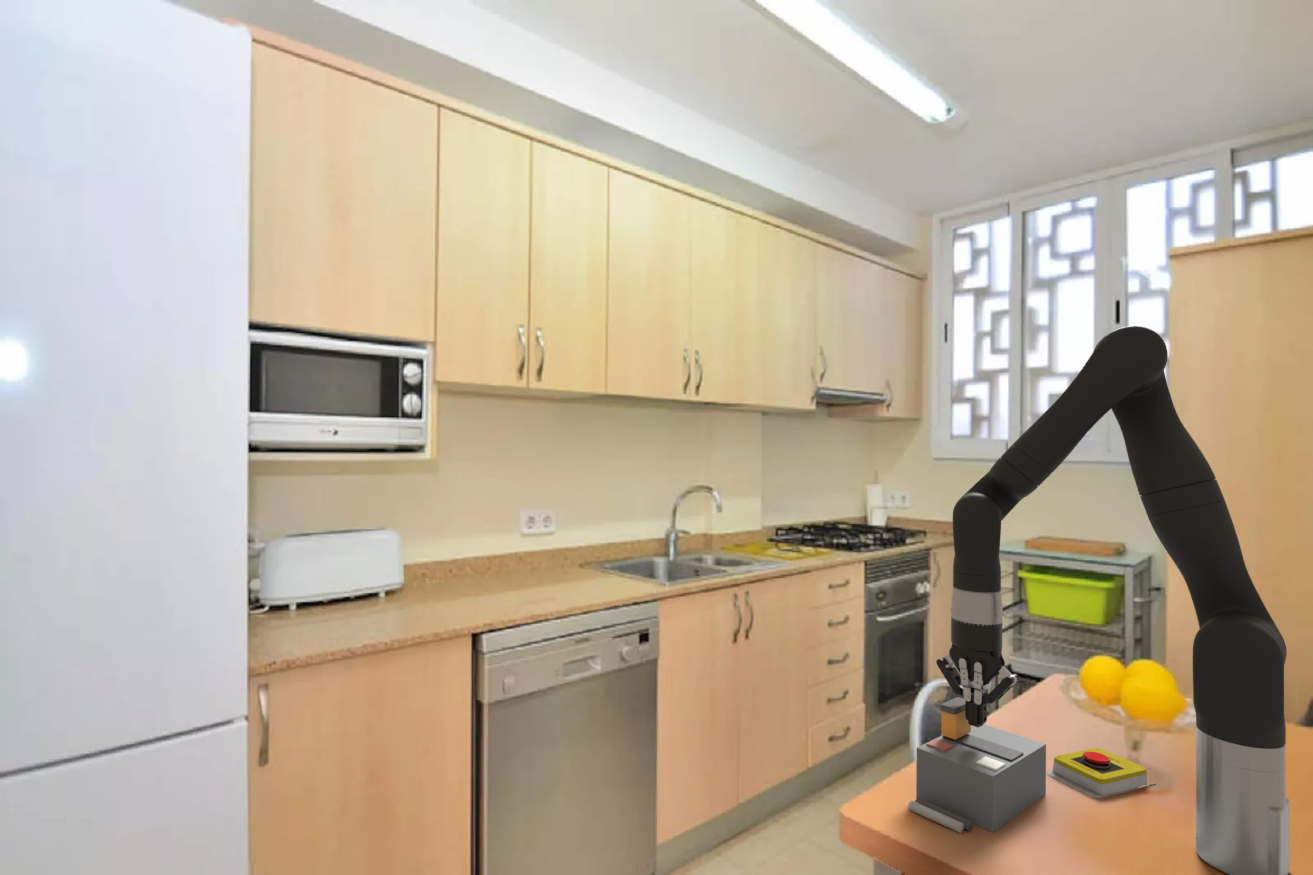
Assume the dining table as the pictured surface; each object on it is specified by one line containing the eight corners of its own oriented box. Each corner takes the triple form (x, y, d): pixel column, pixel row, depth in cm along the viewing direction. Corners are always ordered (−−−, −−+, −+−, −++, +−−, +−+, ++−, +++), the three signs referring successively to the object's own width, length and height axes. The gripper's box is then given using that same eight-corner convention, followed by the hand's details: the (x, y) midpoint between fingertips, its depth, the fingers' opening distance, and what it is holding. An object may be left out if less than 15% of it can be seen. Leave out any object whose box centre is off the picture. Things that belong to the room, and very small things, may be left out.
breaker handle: (971, 731, 114) (971, 701, 114) (954, 740, 110) (954, 708, 110) (957, 726, 116) (957, 696, 116) (940, 735, 112) (940, 704, 112)
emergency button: (1044, 750, 118) (1105, 738, 123) (1044, 776, 118) (1105, 762, 123) (1095, 774, 109) (1159, 760, 115) (1095, 802, 109) (1159, 786, 115)
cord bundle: (972, 829, 100) (972, 819, 100) (962, 836, 98) (962, 826, 98) (917, 804, 107) (917, 795, 107) (906, 810, 105) (906, 801, 105)
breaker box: (1045, 794, 110) (1045, 742, 111) (992, 832, 99) (993, 774, 99) (972, 766, 120) (972, 718, 120) (916, 798, 109) (916, 745, 109)
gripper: (1029, 621, 108) (1029, 732, 108) (949, 606, 118) (948, 707, 118) (1007, 629, 103) (1007, 745, 103) (925, 612, 114) (925, 717, 113)
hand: (975, 724), depth 110 cm, fingers closed
